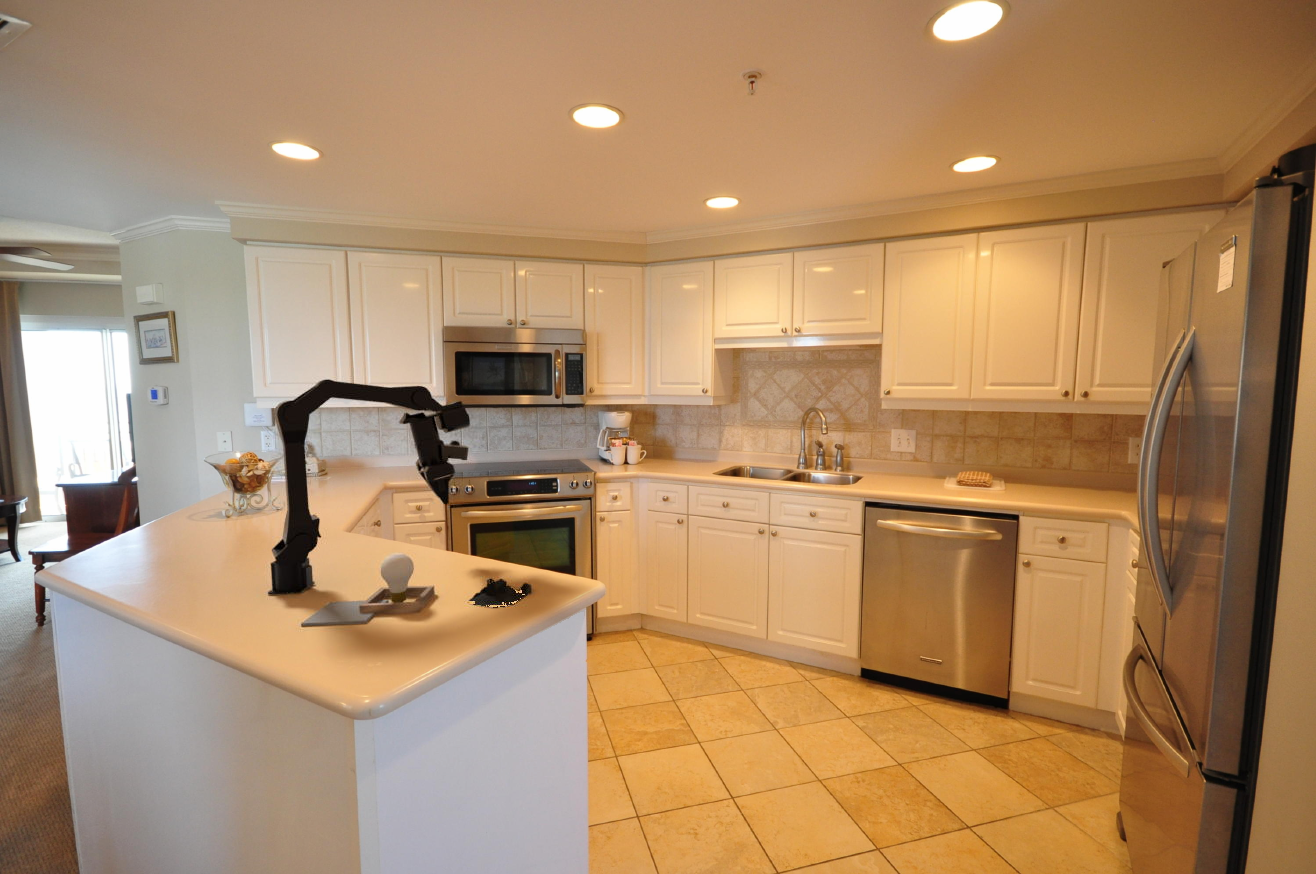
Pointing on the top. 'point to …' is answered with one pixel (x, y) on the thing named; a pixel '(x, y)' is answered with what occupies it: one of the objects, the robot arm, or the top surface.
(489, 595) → the black irregular lumpy piece
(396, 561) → the light bulb
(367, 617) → the coaster
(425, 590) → the holder frame
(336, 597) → the top surface
